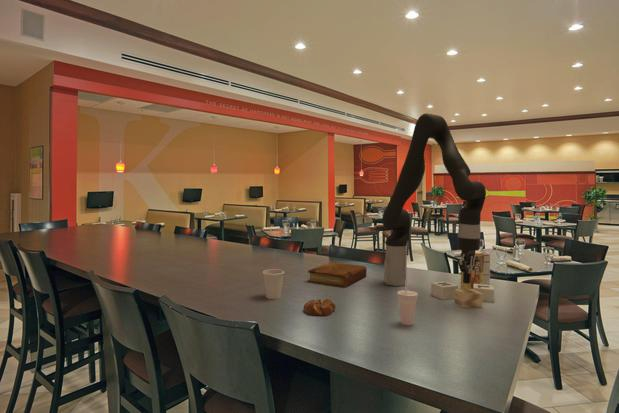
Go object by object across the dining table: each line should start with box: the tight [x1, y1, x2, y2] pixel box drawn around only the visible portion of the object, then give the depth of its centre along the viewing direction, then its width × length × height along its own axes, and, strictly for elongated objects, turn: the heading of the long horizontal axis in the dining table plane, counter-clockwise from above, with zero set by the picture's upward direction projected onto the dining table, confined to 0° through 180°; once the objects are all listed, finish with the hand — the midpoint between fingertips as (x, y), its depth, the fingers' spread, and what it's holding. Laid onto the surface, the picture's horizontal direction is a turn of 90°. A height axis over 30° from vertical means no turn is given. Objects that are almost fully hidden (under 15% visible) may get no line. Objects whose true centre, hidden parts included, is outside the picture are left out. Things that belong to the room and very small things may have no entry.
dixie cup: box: [262, 268, 285, 300], centre depth 148 cm, size 8×8×10 cm
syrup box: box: [475, 250, 491, 285], centre depth 169 cm, size 6×6×14 cm
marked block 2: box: [473, 284, 495, 303], centre depth 148 cm, size 7×7×5 cm
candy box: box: [459, 252, 484, 289], centre depth 160 cm, size 9×4×15 cm, turn 116°
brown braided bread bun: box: [303, 298, 336, 317], centre depth 132 cm, size 12×11×4 cm
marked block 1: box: [430, 281, 459, 301], centre depth 151 cm, size 7×7×5 cm
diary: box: [307, 261, 367, 289], centre depth 177 cm, size 23×19×6 cm
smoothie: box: [397, 278, 419, 326], centre depth 121 cm, size 6×6×14 cm
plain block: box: [454, 288, 484, 309], centre depth 140 cm, size 7×7×5 cm
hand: (466, 282), depth 141 cm, fingers closed
